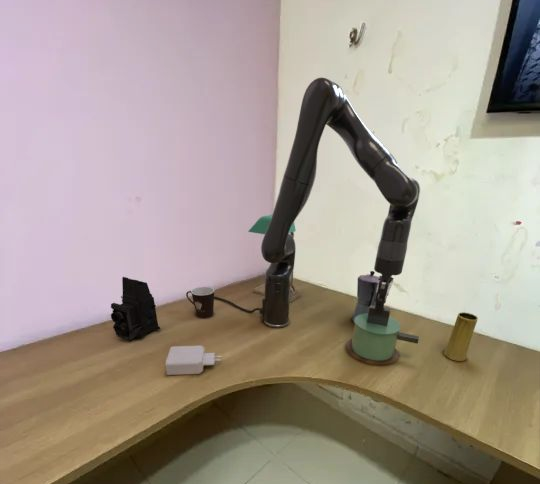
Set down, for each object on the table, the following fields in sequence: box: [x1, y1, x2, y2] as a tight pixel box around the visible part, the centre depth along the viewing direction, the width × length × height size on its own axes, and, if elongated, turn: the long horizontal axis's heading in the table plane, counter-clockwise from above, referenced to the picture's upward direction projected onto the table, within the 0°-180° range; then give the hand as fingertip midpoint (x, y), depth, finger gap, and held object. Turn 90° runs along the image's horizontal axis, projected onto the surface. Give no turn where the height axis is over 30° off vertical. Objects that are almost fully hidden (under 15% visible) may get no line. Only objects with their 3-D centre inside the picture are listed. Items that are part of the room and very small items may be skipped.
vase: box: [443, 311, 479, 362], centre depth 95 cm, size 6×6×14 cm
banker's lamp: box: [247, 213, 301, 303], centre depth 135 cm, size 16×21×35 cm
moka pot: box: [351, 270, 379, 323], centre depth 114 cm, size 10×15×20 cm, turn 174°
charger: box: [165, 345, 223, 376], centre depth 90 cm, size 5×9×15 cm
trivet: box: [346, 338, 399, 367], centre depth 100 cm, size 16×16×1 cm
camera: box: [110, 276, 161, 341], centre depth 102 cm, size 10×14×20 cm
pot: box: [351, 305, 420, 361], centre depth 96 cm, size 19×14×15 cm
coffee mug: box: [185, 286, 215, 319], centre depth 120 cm, size 12×9×10 cm
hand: (379, 308), depth 93 cm, fingers open, 8 cm apart
